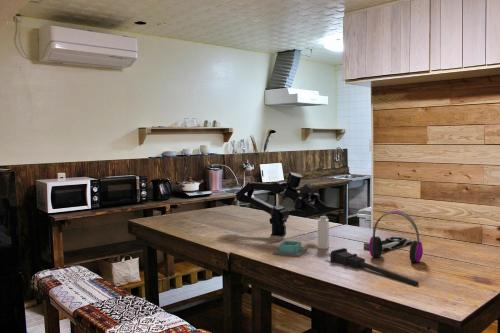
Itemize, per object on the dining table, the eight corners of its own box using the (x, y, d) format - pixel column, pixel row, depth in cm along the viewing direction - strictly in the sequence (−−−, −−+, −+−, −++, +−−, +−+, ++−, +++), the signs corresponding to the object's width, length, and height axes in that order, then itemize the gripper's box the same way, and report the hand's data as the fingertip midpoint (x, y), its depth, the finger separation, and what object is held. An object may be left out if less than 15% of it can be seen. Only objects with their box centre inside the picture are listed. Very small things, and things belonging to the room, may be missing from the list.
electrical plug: (337, 256, 181) (337, 244, 180) (424, 288, 147) (424, 274, 146) (322, 259, 176) (322, 248, 175) (408, 293, 142) (409, 279, 141)
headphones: (423, 260, 173) (424, 211, 171) (420, 266, 165) (421, 215, 164) (372, 253, 183) (372, 208, 182) (367, 258, 176) (367, 211, 174)
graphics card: (363, 242, 190) (395, 234, 206) (363, 250, 191) (395, 241, 206) (382, 247, 183) (414, 238, 198) (382, 255, 183) (414, 245, 198)
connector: (318, 248, 193) (317, 216, 192) (320, 246, 197) (320, 215, 196) (326, 249, 192) (326, 217, 191) (328, 246, 195) (328, 215, 194)
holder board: (273, 254, 185) (272, 245, 185) (282, 247, 196) (281, 239, 196) (299, 256, 180) (299, 247, 180) (307, 249, 191) (307, 241, 191)
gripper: (289, 182, 203) (316, 196, 195) (309, 179, 218) (335, 191, 210) (283, 203, 207) (309, 217, 198) (303, 198, 221) (328, 211, 213)
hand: (321, 208), depth 204 cm, fingers open, 9 cm apart
